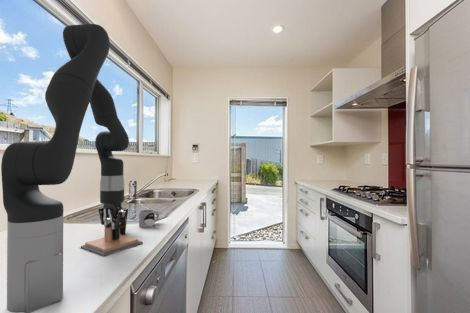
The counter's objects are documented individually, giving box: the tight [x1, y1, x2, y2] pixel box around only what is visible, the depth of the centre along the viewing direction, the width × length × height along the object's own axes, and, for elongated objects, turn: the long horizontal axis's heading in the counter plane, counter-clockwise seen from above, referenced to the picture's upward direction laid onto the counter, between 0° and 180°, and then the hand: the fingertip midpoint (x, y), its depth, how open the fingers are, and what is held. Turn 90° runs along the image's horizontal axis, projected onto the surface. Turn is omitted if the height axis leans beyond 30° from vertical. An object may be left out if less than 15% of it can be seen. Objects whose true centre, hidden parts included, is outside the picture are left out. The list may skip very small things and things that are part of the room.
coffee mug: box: [114, 206, 129, 235], centre depth 101 cm, size 12×9×10 cm
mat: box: [80, 240, 144, 257], centre depth 86 cm, size 14×14×1 cm
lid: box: [84, 227, 139, 252], centre depth 86 cm, size 12×12×6 cm
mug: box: [138, 209, 160, 229], centre depth 114 cm, size 10×7×7 cm
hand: (112, 238), depth 86 cm, fingers closed on lid, 3 cm apart
